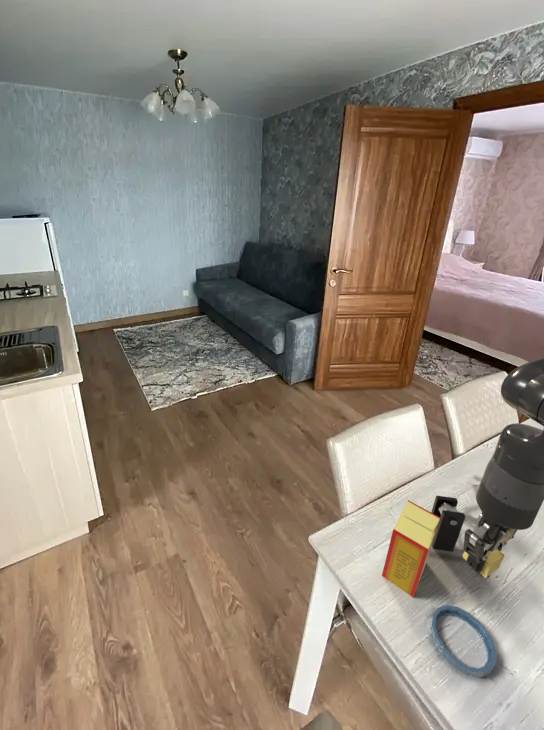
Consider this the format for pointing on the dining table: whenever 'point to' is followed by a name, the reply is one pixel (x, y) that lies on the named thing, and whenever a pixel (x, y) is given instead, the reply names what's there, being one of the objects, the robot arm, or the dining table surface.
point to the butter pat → (490, 562)
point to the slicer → (447, 525)
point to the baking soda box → (410, 547)
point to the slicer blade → (452, 508)
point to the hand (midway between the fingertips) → (481, 561)
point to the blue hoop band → (480, 630)
